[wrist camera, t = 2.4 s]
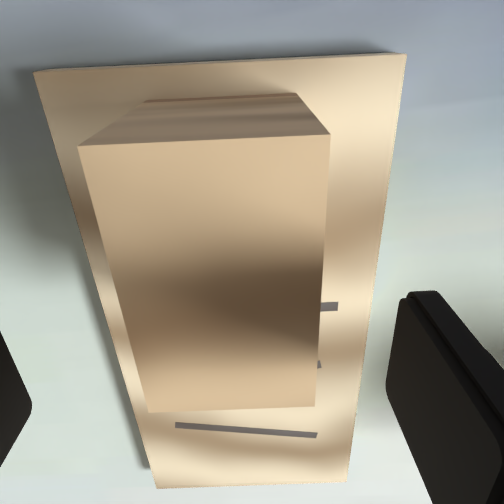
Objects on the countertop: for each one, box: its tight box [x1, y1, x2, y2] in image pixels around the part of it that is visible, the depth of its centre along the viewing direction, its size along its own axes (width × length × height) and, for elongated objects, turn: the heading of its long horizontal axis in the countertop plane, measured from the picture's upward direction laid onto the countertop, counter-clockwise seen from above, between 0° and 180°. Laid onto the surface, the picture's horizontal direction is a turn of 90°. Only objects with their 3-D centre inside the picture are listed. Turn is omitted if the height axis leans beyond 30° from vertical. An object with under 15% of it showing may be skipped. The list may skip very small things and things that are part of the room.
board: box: [33, 52, 407, 489], centre depth 19 cm, size 24×12×1 cm, turn 2°
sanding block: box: [77, 93, 331, 413], centre depth 12 cm, size 8×5×6 cm, turn 2°
